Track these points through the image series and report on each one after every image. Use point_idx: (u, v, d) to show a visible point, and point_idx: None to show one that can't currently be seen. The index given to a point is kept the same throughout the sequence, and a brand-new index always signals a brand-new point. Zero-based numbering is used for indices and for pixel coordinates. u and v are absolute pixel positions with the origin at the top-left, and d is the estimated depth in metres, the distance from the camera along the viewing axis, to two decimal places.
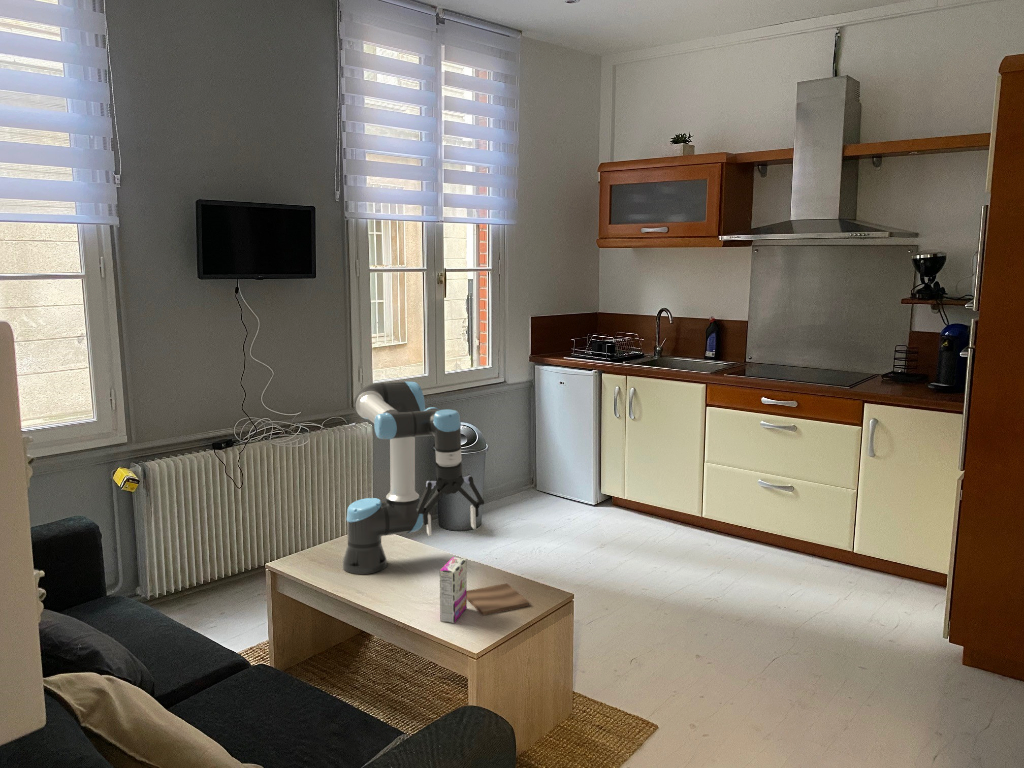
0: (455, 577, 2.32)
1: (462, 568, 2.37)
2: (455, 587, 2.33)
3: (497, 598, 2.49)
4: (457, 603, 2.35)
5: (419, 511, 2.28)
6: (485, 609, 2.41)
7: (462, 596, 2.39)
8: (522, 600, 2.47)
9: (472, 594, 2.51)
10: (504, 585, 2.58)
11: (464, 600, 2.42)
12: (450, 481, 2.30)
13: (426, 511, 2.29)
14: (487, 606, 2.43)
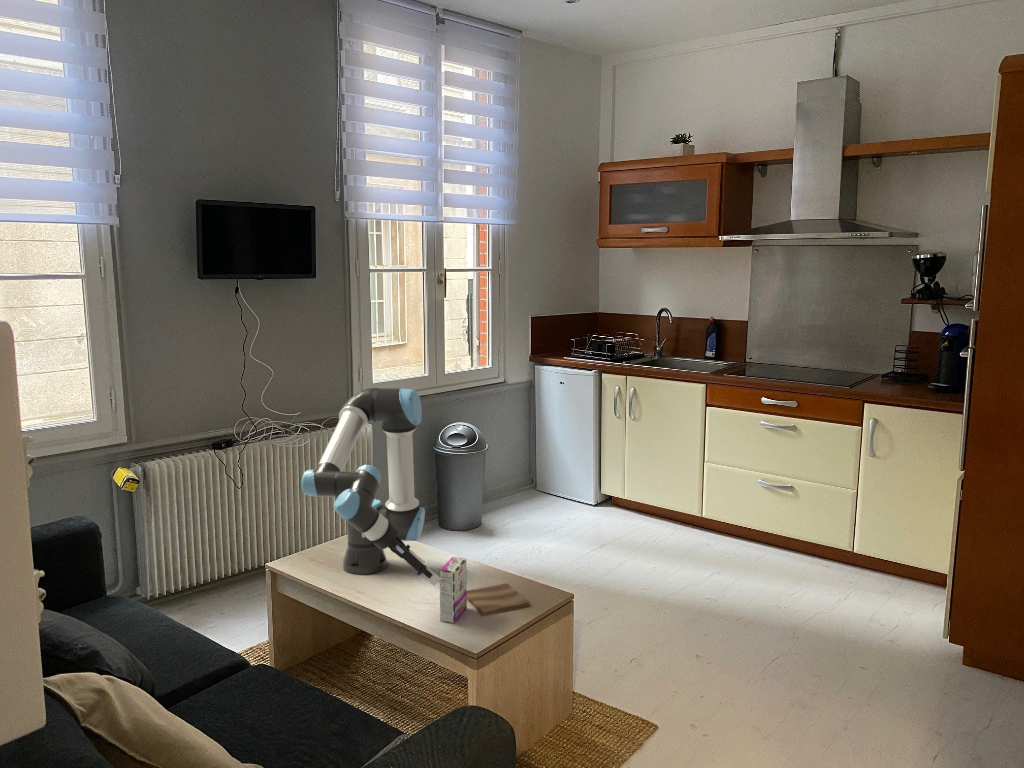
0: (455, 577, 2.32)
1: (462, 568, 2.37)
2: (455, 587, 2.33)
3: (497, 598, 2.49)
4: (457, 603, 2.35)
5: None
6: (485, 609, 2.41)
7: (462, 596, 2.39)
8: (522, 600, 2.47)
9: (472, 594, 2.51)
10: (504, 585, 2.58)
11: (464, 600, 2.42)
12: None
13: None
14: (487, 606, 2.43)
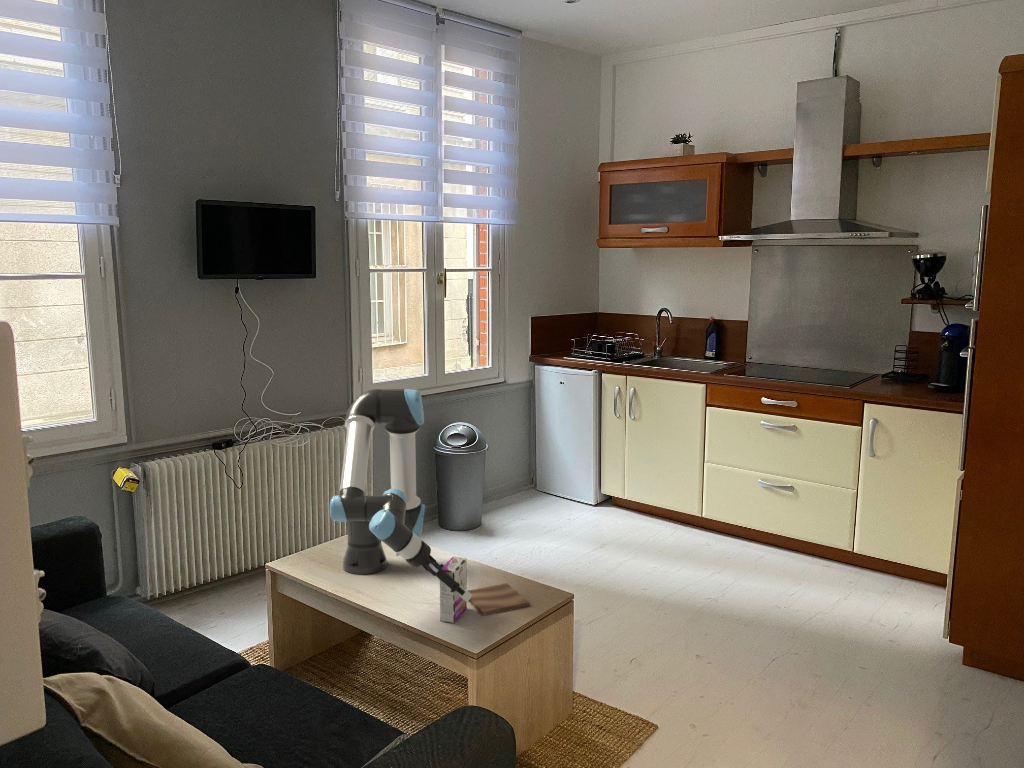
0: (455, 577, 2.32)
1: (462, 568, 2.37)
2: None
3: (497, 598, 2.49)
4: (457, 603, 2.35)
5: None
6: (485, 609, 2.41)
7: None
8: (522, 600, 2.47)
9: (472, 594, 2.51)
10: (504, 585, 2.58)
11: (464, 600, 2.42)
12: None
13: None
14: (487, 606, 2.43)
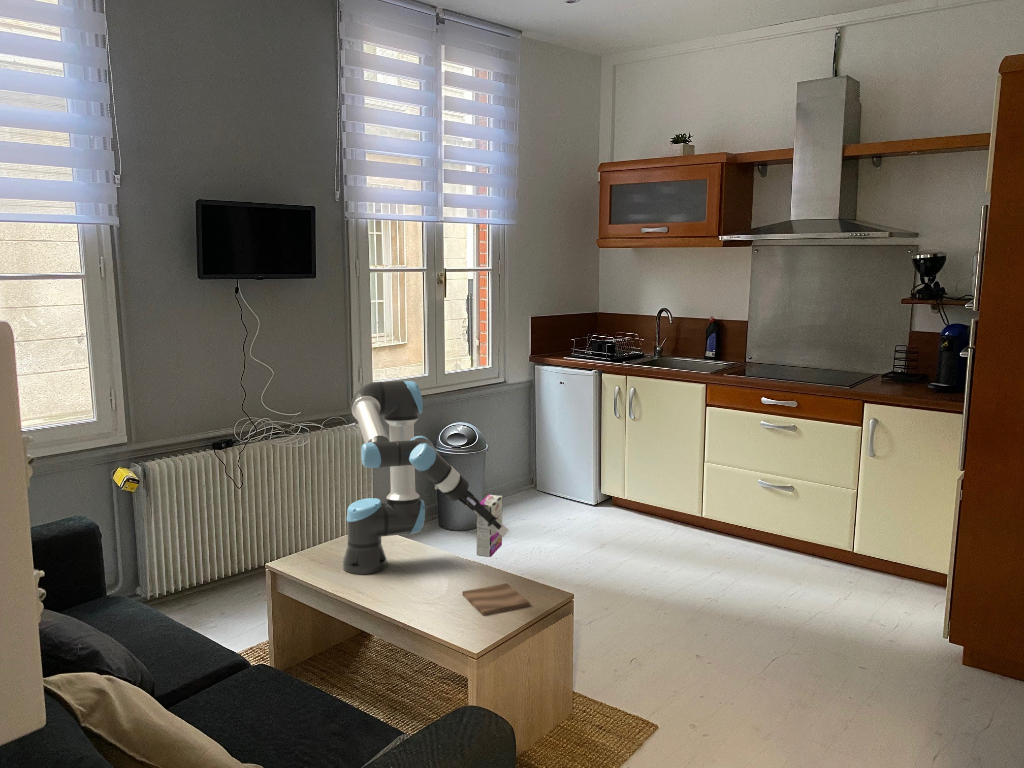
0: (492, 512, 2.37)
1: (498, 504, 2.42)
2: None
3: (497, 598, 2.49)
4: (493, 538, 2.40)
5: None
6: (485, 609, 2.41)
7: None
8: (522, 600, 2.47)
9: (472, 594, 2.51)
10: (504, 585, 2.58)
11: (500, 537, 2.46)
12: None
13: None
14: (487, 606, 2.43)
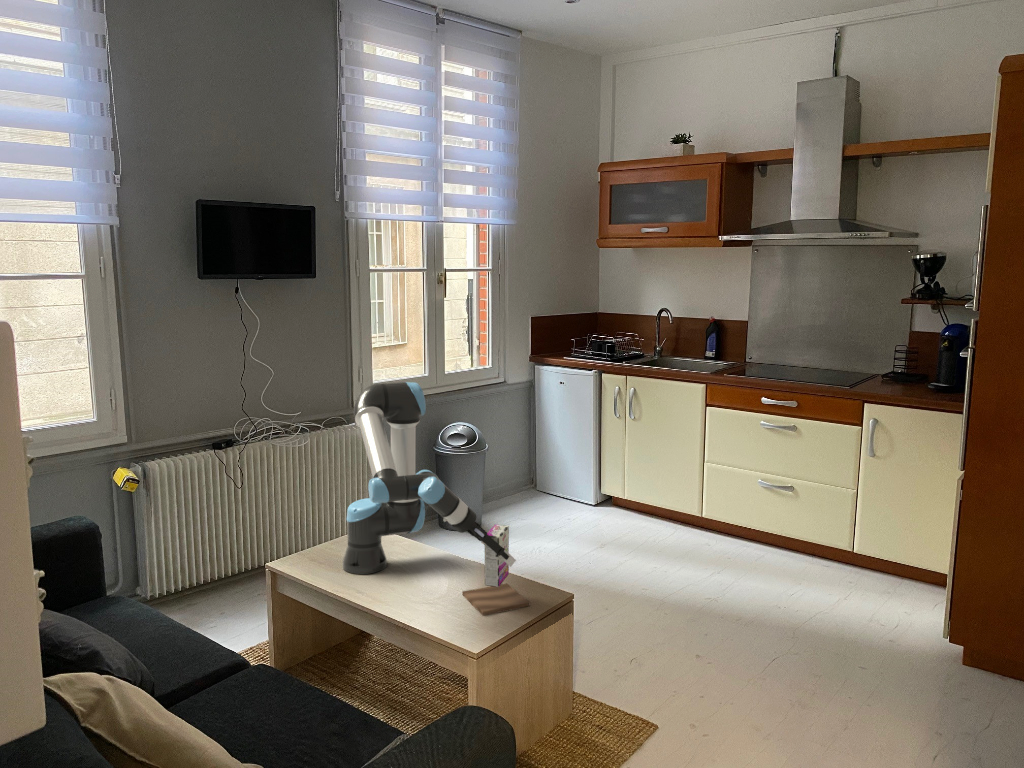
0: (499, 542, 2.41)
1: (505, 534, 2.46)
2: None
3: (497, 598, 2.49)
4: (501, 568, 2.44)
5: None
6: (485, 609, 2.41)
7: None
8: (522, 600, 2.47)
9: (472, 594, 2.51)
10: (504, 585, 2.58)
11: (507, 566, 2.50)
12: None
13: None
14: (487, 606, 2.43)
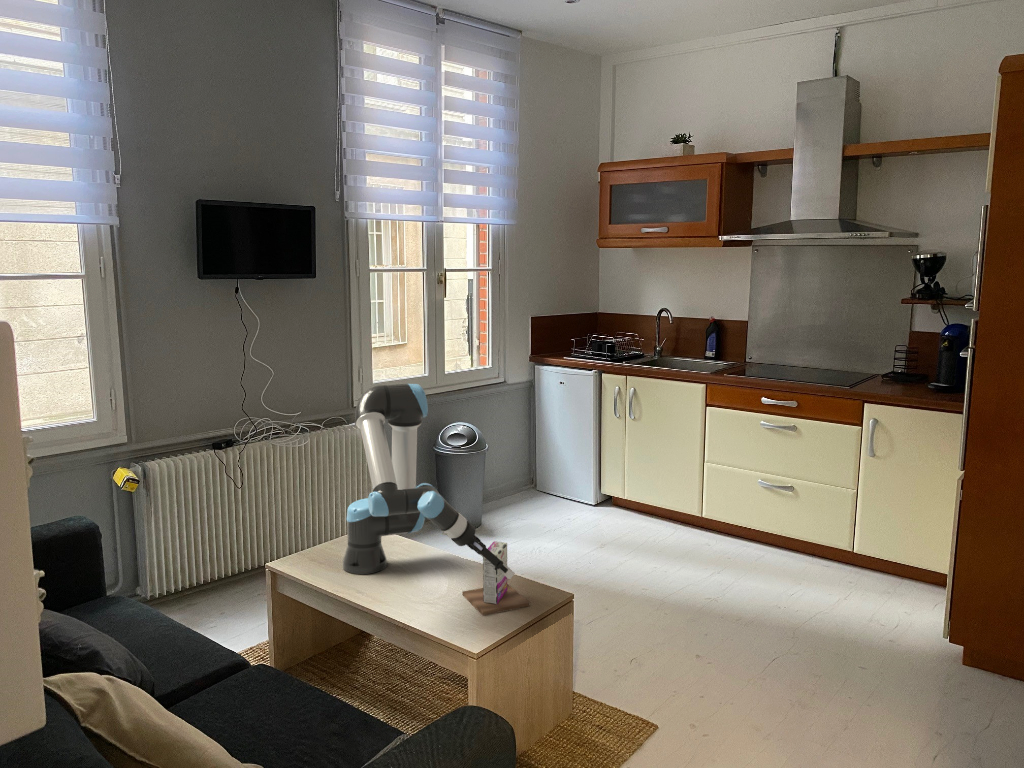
0: None
1: (503, 552, 2.48)
2: (498, 570, 2.43)
3: None
4: (499, 585, 2.46)
5: None
6: (485, 609, 2.41)
7: (504, 578, 2.50)
8: (522, 600, 2.47)
9: (472, 594, 2.51)
10: None
11: (505, 582, 2.52)
12: None
13: None
14: (487, 606, 2.43)
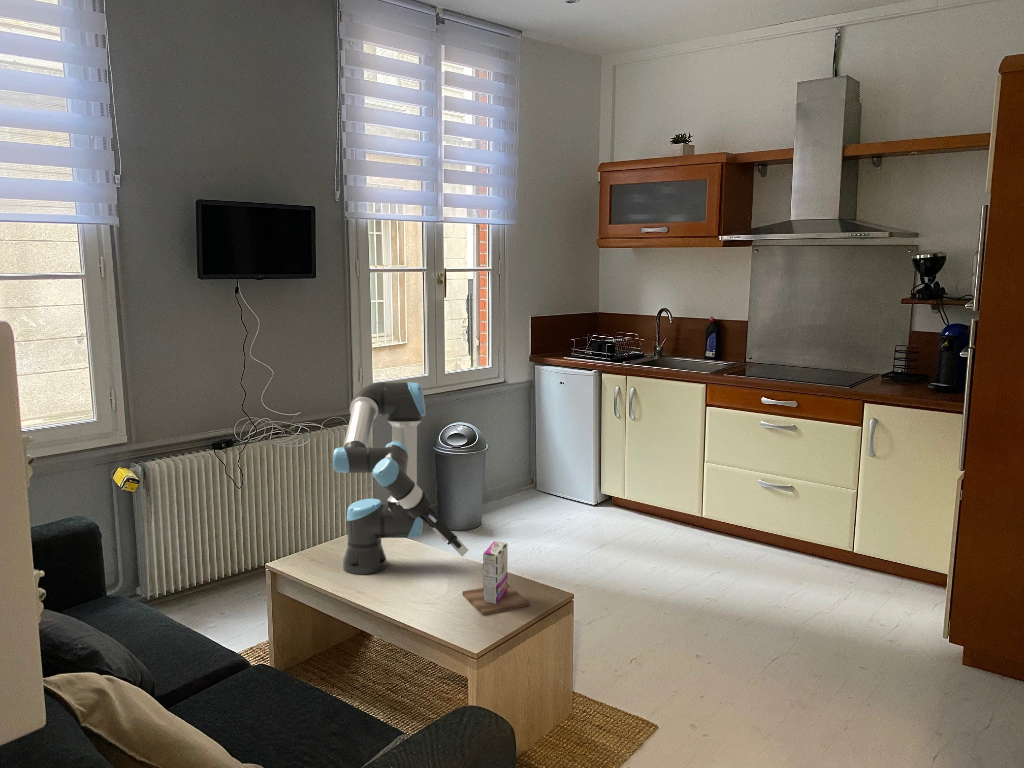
0: (498, 560, 2.42)
1: (503, 552, 2.48)
2: (498, 570, 2.43)
3: None
4: (500, 586, 2.46)
5: None
6: (485, 609, 2.41)
7: (504, 578, 2.50)
8: (522, 600, 2.47)
9: (472, 594, 2.51)
10: None
11: (505, 583, 2.52)
12: (422, 514, 2.35)
13: (429, 524, 2.45)
14: (487, 606, 2.43)
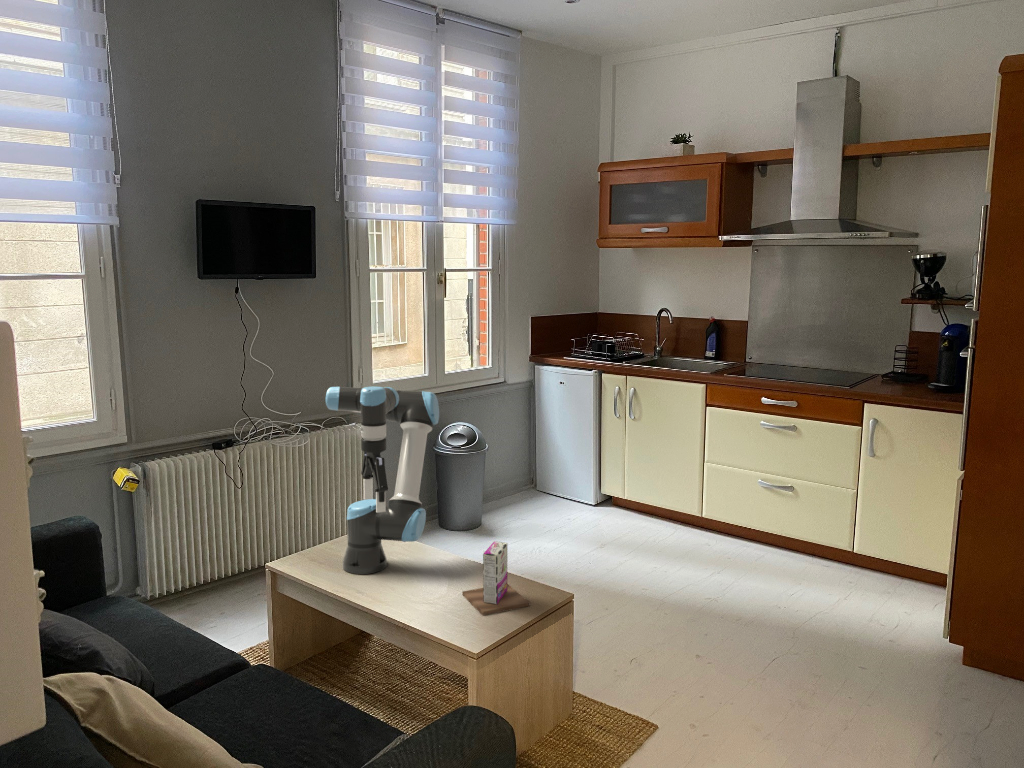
0: (498, 560, 2.42)
1: (503, 552, 2.48)
2: (498, 570, 2.43)
3: None
4: (500, 586, 2.46)
5: (361, 472, 2.49)
6: (485, 609, 2.41)
7: (504, 578, 2.50)
8: (522, 600, 2.47)
9: (472, 594, 2.51)
10: None
11: (505, 583, 2.52)
12: (370, 455, 2.39)
13: (363, 475, 2.47)
14: (487, 606, 2.43)
